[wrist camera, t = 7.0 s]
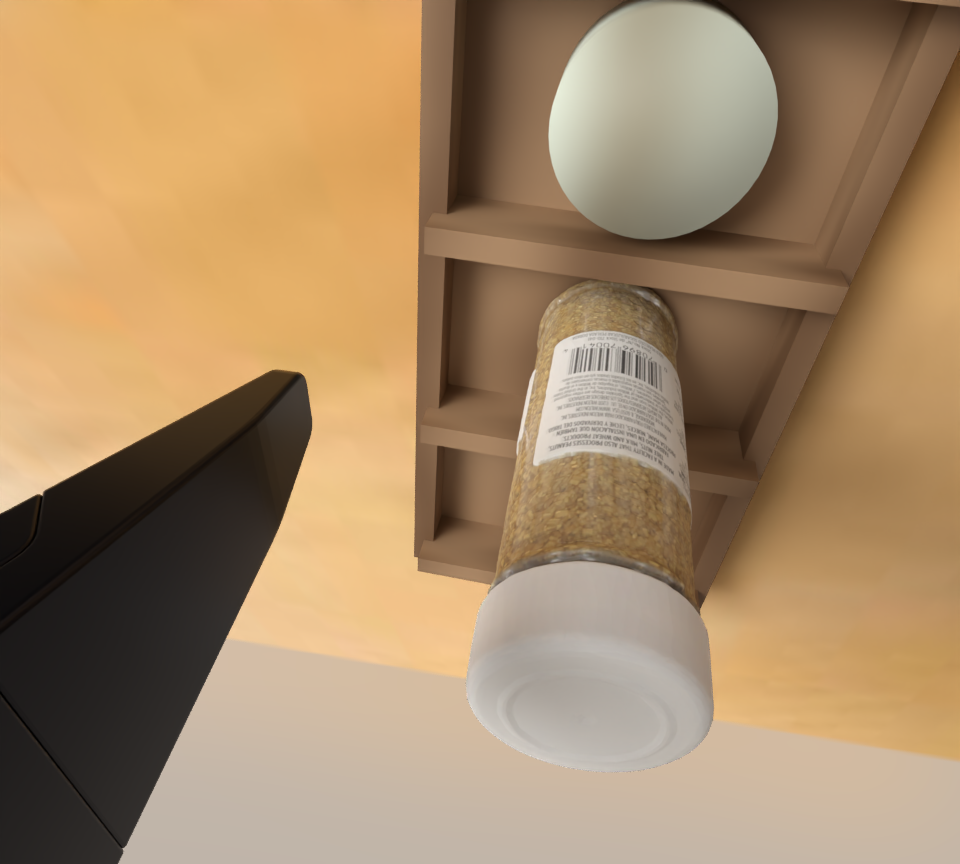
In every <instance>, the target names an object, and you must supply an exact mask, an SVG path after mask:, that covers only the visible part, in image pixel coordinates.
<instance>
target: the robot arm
mask: <svg viewBox="0 0 960 864" xmlns="http://www.w3.org/2000/svg"><path fill="white" fill-rule="evenodd" d="M311 431H312V416H311V409H310V402H309V396H308V389H307V383H306V380H305V377H304V376H303V375H302V374H301V373H299V372H292V371H285V370H272V371H269V372H267V373H265V374H264V375H262V376H260V377H258V378H256V379H254V380H252V381H250V382H248V383H247V384H245V385H243V386H241V387H239V388H237V389H235V390H233V391H231V392H230V393H228V394H226V395H224V396H222V397H220V398H218V399H216V400H215V401H213V402H211V403H209V404H207V405H205V406H203V407H201V408H199V409H198V410H196V411H194V412H192V413H190V414H188V415H186V416H184V417H182V418H181V419H179V420H177V421H175V422H173V423H171V424H169V425H167V426H166V427H164V428H162V429H160V430H158V431H156V432H154V433H152V434H150V435H149V436H147V437H145V438H143V439H141V440H139V441H137V442H135V443H133V444H132V445H130V446H128V447H126V448H124V449H122V450H120V451H118V452H116V453H115V454H113V455H111V456H109V457H107V458H105V459H103V460H101V461H99V462H98V463H96V464H94V465H92V466H90V467H88V468H86V469H84V470H82V471H81V472H79V473H77V474H75V475H73V476H71V477H69V478H67V479H65V480H64V481H62V482H60V483H58V484H56V485H54V486H52V487H50V488H48V489H47V490H45V491H44V492H43V496H42V495H40V494H37V495H35V496H33V497H31V498H29V499H27V500H26V501H24V502H22V503H20V504H18V505H16V506H14V507H12V508H11V509H9V510H7V511H5V512H3V513H1V514H0V864H118V863H119V860H120V858H121V856H122V854H123V849H122V848H124V847H125V846H126V845H127V843H128V841H129V839H130V837H131V835H132V833H133V830H134V828H135V826H136V824H137V822H138V820H139V818H140V816H141V813H142V812H143V810H144V808H145V806H146V804H147V801H148V799H149V797H150V795H151V793H152V791H153V789H154V787H155V785H156V783H157V781H158V779H159V777H160V775H161V772H162V770H163V768H164V766H165V764H166V762H167V760H168V758H169V756H170V754H171V751H172V749H173V748H174V745H175V743H176V741H177V739H178V737H179V735H180V733H181V731H182V729H183V727H184V725H185V723H186V720H187V718H188V716H189V714H190V712H191V710H192V708H193V706H194V704H195V702H196V700H197V698H198V696H199V694H200V691H201V689H202V687H203V685H204V683H205V681H206V679H207V677H208V675H209V673H210V671H211V669H212V666H213V665H214V662H215V660H216V658H217V656H218V654H219V652H220V650H221V648H222V646H223V644H224V642H225V640H226V638H227V635H228V633H229V631H230V629H231V627H232V625H233V623H234V621H235V619H236V617H237V615H238V613H239V611H240V608H241V606H242V604H243V602H244V600H245V598H246V596H247V594H248V592H249V590H250V588H251V586H252V584H253V581H254V579H255V577H256V575H257V573H258V571H259V569H260V567H261V565H262V563H263V561H264V559H265V557H266V555H267V552H268V550H269V548H270V546H271V544H272V542H273V540H274V538H275V535H276V533H277V531H278V529H279V526H280V524H281V521H282V518H283V516H284V513H285V510H286V507H287V504H288V501H289V498H290V495H291V492H292V489H293V486H294V483H295V480H296V477H297V475H298V472H299V469H300V466H301V463H302V460H303V457H304V454H305V451H306V448H307V445H308V442H309V439H310V436H311Z"/></svg>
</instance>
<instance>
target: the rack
mask: <svg viewBox="0 0 960 864" xmlns="http://www.w3.org/2000/svg"><path fill="white" fill-rule="evenodd" d="M959 49H960V0H422V41H421V112H420V183H419V255H418V326H417V397H416V469H415V540H414V557H418V571H421V572H427V573H432V574H437V575H442V576H448V577H453V578H458V579H464V580H469V581H474V582H479V583H485V584H490V585H491V584H492V582H493V580H494V578H495V574H496V571H497V562H498V555H499V550H500V546H501V540H502V536H503V531H504V523H505V516H506V511H507V506H508V502H509V496H510V491H511V485H512V481H513V476H514V471H515V465H516V460H517V441H518V436H519V431H520V426H521V421H522V415H523V411H524V406H525V400H526V396H527V391H528V386H529V381H530V378H531V376H532V373H533V371H534V369H535V364H536V358H537V352H538V347H537V340H538V332H539V325H540V322H541V320H542V317H543V315H544V313H545V311H546V309H547V308H548V306H549V304H550V303H551V302H552V301H553V300H554V299H555V298H557V297H558V296H559V295H560V294H562V293H563V292H565V291H566V290H567V289H569V288H571V287H573V286H575V285H577V284H579V283H582V282H585V281H588V280H591V279H597V280H604V281H611V282H618V283H625V284H631V285H638V286H644V287H646V288H648V289H650V290H652V291H653V292H655V293H656V294H657V295H658V296H659V297H660V298H661V299H662V300H663V302H664V303H666V304H667V306H668V307H669V309H670V311H671V313H672V314H673V316H674V319H675V323H676V327H677V330H678V350H677V353H676V361H677V366H676V369H677V373H678V378H679V381H680V386H681V394H682V405H683V417H684V428H685V441H686V452H687V462H688V474H689V486H690V497H691V510H692V524H691V541H692V557H693V569H694V583H695V599H696V603H697V606H698V607H699V609H700V608H701V606H702V604H703V602H704V600H705V598H706V595H707V593H708V591H709V589H710V587H711V585H712V582H713V580H714V578H715V576H716V574H717V572H718V570H719V567H720V565H721V563H722V561H723V559H724V557H725V554H726V552H727V550H728V548H729V546H730V544H731V541H732V539H733V537H734V535H735V533H736V531H737V528H738V526H739V524H740V522H741V520H742V518H743V516H744V513H745V511H746V509H747V507H748V505H749V503H750V500H751V499H752V497H753V494H754V492H755V490H756V488H757V486H758V484H759V481H760V479H761V477H762V474H763V472H764V470H765V468H766V466H767V464H768V462H769V459H770V457H771V455H772V453H773V451H774V449H775V446H776V444H777V442H778V440H779V438H780V436H781V433H782V431H783V429H784V427H785V425H786V423H787V420H788V418H789V416H790V414H791V412H792V410H793V408H794V405H795V403H796V401H797V399H798V397H799V395H800V392H801V390H802V388H803V386H804V384H805V382H806V379H807V377H808V375H809V373H810V371H811V369H812V366H813V364H814V362H815V360H816V358H817V356H818V354H819V351H820V349H821V347H822V345H823V343H824V341H825V338H826V336H827V334H828V332H829V330H830V328H831V325H832V323H833V321H834V319H835V317H836V315H837V313H838V311H839V309H840V307H841V304H842V302H843V300H844V298H845V296H846V294H847V292H848V289H849V287H850V284H851V282H852V280H853V278H854V276H855V274H856V271H857V269H858V267H859V265H860V263H861V261H862V259H863V256H864V254H865V252H866V250H867V248H868V246H869V243H870V241H871V239H872V237H873V235H874V233H875V230H876V228H877V226H878V224H879V222H880V220H881V217H882V215H883V213H884V211H885V209H886V207H887V205H888V202H889V200H890V198H891V196H892V194H893V192H894V189H895V187H896V185H897V183H898V181H899V179H900V176H901V174H902V172H903V170H904V168H905V166H906V163H907V161H908V159H909V157H910V155H911V153H912V151H913V148H914V146H915V144H916V142H917V140H918V138H919V135H920V133H921V131H922V129H923V127H924V125H925V122H926V120H927V118H928V116H929V114H930V112H931V109H932V107H933V105H934V103H935V101H936V99H937V97H938V94H939V92H940V90H941V88H942V86H943V84H944V81H945V79H946V77H947V75H948V73H949V71H950V68H951V66H952V64H953V62H954V60H955V58H956V55H957V53H958V51H959Z"/></svg>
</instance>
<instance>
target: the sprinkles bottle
mask: <svg viewBox="0 0 960 864" xmlns="http://www.w3.org/2000/svg"><path fill="white" fill-rule="evenodd" d="M537 347H538V352H537V358H536V364H535V369H534V371H533V373H532V376H531V378H530V381H529V386H528V391H527V396H526V400H525V406H524V411H523V415H522V421H521V426H520V431H519V436H518V441H517V460H516V465H515V471H514V476H513V481H512V485H511V491H510V496H509V502H508V506H507V511H506V516H505V523H504V531H503V536H502V540H501V546H500V550H499V555H498V562H497V571H496V574H495V578H494V580H493V582H492V584H491V587H490V589H489V591H488V595H487V597H486V598H485V599H484V601H483V602H482V604H481V606H480V609H479V612H478V615H477V620H476V625H475V630H474V635H473V640H472V646H471V652H470V658H469V664H468V671H467V678H466V693H467V700H468V702H469V704H470V706H471V709H472V711H473V713H474V714H475V716H476V717H477V719H478V720H479V721H480V722H481V724H482V725H483V726H484V727H485V728H486V729H487V730H488V731H489V732H491V733H492V734H493V735H494V736H495V737H497V738H498V739H499V740H501V741H502V742H504V743H505V744H507V745H509V746H510V747H512V748H514V749H516V750H518V751H520V752H522V753H524V754H526V755H529V756H531V757H534V758H536V759H539V760H542V761H545V762H548V763H551V764H555V765H559V766H563V767H567V768H572V769H579V770H586V771H596V772H631V771H640V770H645V769H650V768H655V767H658V766H661V765H664V764H668V763H670V762H672V761H675V760H677V759H679V758H681V757H683V756H685V755H687V754H688V753H690V752H691V751H692V750H693V749H695V748H696V747H697V746H698V745H699V744H700V743H701V742H702V741H703V739H704V738H705V737H706V735H707V734H708V732H709V729H710V726H711V724H712V721H713V711H714V704H713V689H712V674H711V660H710V649H709V638H708V633H707V630H706V627H705V625H704V622H703V620H702V619H701V617H700V609H699V607H698V606H697V603H696V599H695V583H694V569H693V557H692V541H691V524H692V510H691V497H690V486H689V474H688V462H687V452H686V441H685V428H684V417H683V405H682V394H681V386H680V381H679V378H678V373H677V369H676V366H677V361H676V353H677V350H678V330H677V327H676V323H675V319H674V316H673V314H672V313H671V311H670V309H669V307H668V306H667V304H666V303H664V302H663V300H662V299H661V298H660V297H659V296H658V295H657V294H656V293H655V292H653V291H652V290H650V289H648V288H646V287H644V286H638V285H631V284H625V283H618V282H611V281H604V280H597V279H591V280H588V281H585V282H582V283H579V284H577V285H575V286H573V287H571V288H569V289H567V290H566V291H565V292H563V293H562V294H560V295H559V296H558V297H557V298H555V299H554V300H553V301H552V302H551V303H550V304H549V306H548V308H547V309H546V311H545V313H544V315H543V317H542V320H541V322H540V325H539V332H538V340H537Z"/></svg>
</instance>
